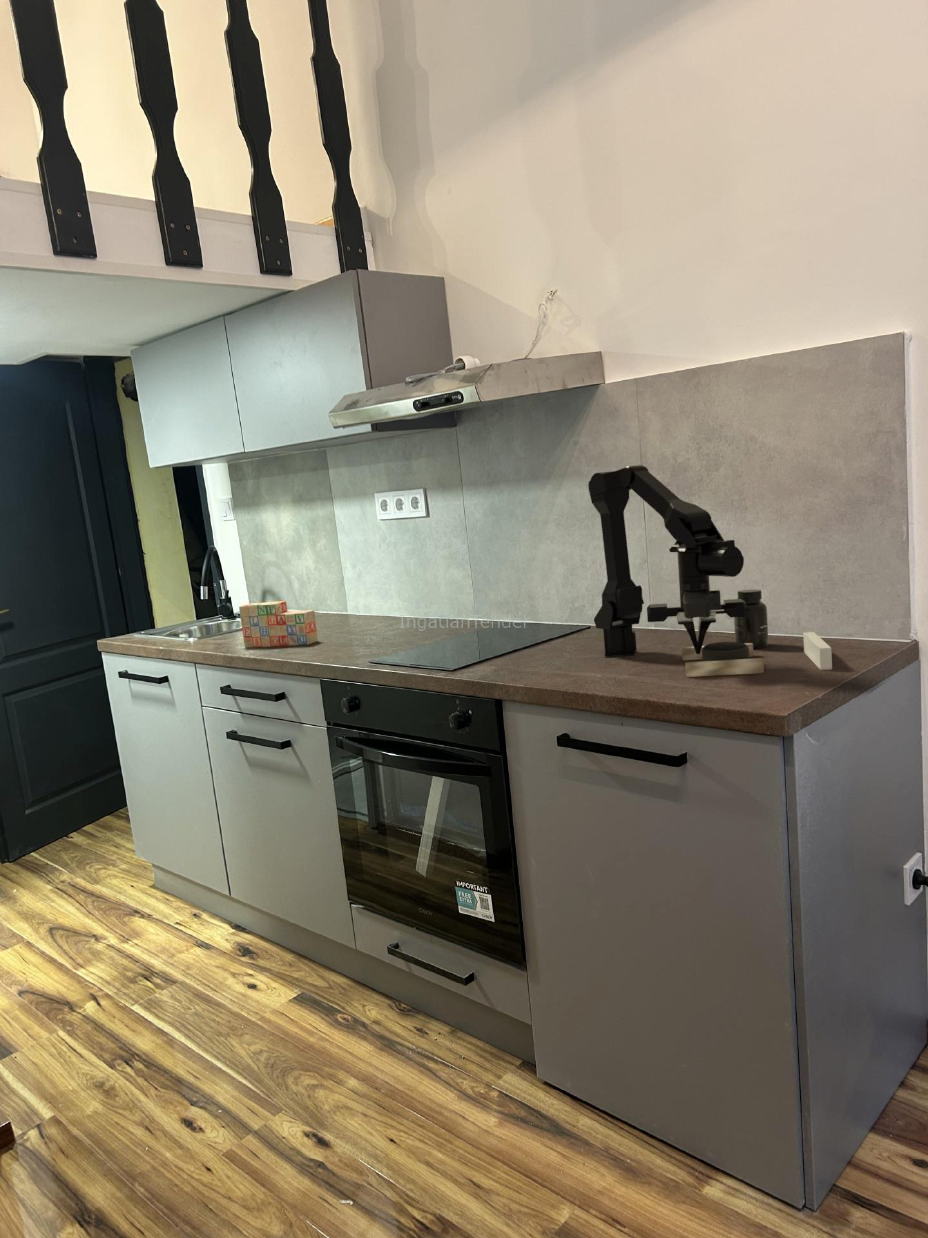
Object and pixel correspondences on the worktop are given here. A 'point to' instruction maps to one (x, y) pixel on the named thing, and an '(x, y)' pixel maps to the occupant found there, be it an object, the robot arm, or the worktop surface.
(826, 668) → the block
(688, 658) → the tunnel walls
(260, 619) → the stack of blocks
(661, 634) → the worktop surface
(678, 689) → the worktop surface
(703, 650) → the smart speaker
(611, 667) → the worktop surface
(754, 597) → the supplement bottle
